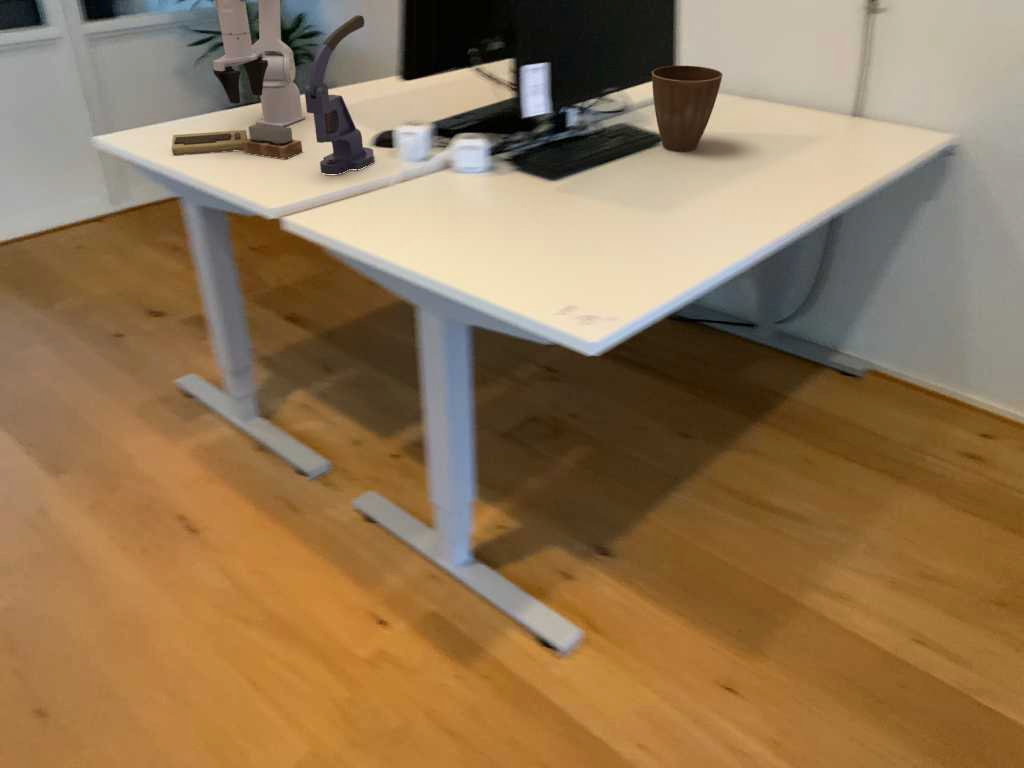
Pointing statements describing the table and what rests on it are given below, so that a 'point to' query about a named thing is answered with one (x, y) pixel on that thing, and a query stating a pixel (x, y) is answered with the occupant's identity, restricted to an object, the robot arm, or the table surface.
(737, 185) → the table surface
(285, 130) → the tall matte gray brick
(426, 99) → the table surface
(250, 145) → the rectangular frame with crossbar
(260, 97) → the robot arm
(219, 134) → the beige retro keyboard
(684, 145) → the plant pot
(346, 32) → the hand press
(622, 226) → the table surface
